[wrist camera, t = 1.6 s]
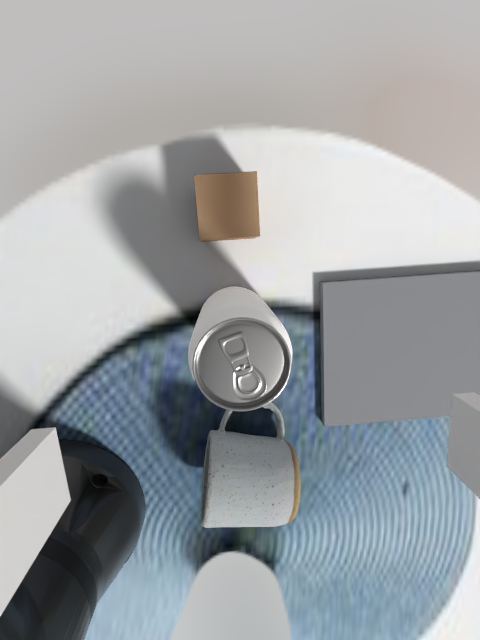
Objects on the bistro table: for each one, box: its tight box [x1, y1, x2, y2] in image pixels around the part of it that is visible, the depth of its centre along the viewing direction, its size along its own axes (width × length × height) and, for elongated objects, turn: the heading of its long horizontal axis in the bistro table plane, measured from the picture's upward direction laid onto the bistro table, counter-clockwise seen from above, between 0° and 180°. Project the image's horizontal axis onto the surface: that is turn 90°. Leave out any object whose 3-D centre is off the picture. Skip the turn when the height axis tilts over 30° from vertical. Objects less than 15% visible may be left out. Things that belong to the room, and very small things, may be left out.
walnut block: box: [194, 171, 260, 242], centre depth 26 cm, size 4×4×4 cm
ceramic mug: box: [201, 402, 301, 528], centre depth 29 cm, size 11×8×8 cm
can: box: [188, 287, 292, 411], centre depth 24 cm, size 6×6×12 cm
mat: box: [320, 270, 480, 427], centre depth 31 cm, size 16×14×1 cm
